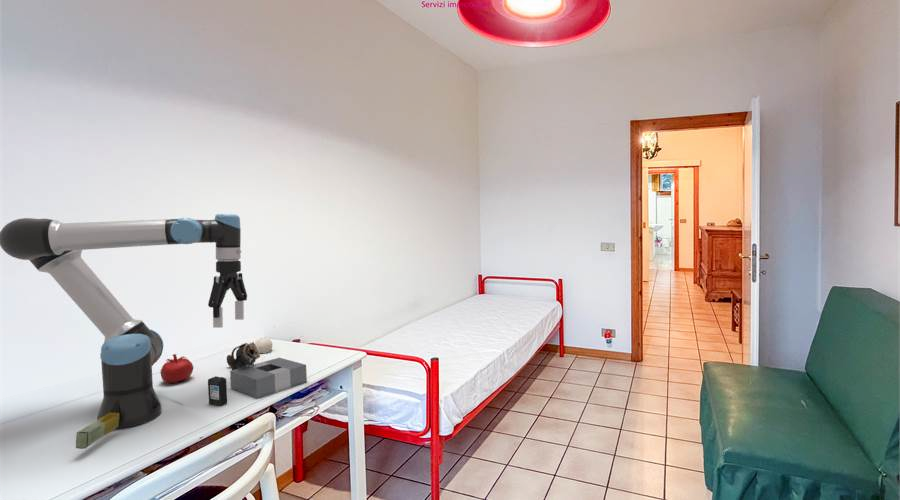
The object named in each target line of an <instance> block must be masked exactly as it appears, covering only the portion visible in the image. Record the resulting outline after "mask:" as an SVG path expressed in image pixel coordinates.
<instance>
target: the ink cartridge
mask: <svg viewBox="0 0 900 500" xmlns="http://www.w3.org/2000/svg"><path fill="white" fill-rule="evenodd" d="M207 385H208V386H207V387H208V389H207V390H208V392H207V393H208V404H209V405H213V406H217V407H221V406H224V405H226V404H227V403H228V393H227V392H228V391H227V378H226V377H224V376H213V377H211V378H208V379H207Z"/></svg>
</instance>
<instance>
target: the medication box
mask: <svg viewBox="0 0 900 500" xmlns="http://www.w3.org/2000/svg"><path fill="white" fill-rule="evenodd" d="M118 426H119V413H108V414H107V415H105V416H103V417H102V418H100V419H98V420H97V419H96V420H95V421H94V422H92V423H91V424H89V425H87V426H85V427H83V428H82V429H80V430H79V431H77V432H76V434H75V435H76V436H75V437H76V438H75V448H76V449H79V450H80V449H81V450H83V449H84V450H85V449H87V448H88V447H89V446H91V445H93V444H94V443H95V442H97V441H100V440H101V439H102V438H103V437H105V436H107V435H108V434H110V433H111V432H113V431H114V430H116V429H115V428H117V427H118Z"/></svg>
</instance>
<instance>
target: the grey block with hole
mask: <svg viewBox="0 0 900 500" xmlns="http://www.w3.org/2000/svg"><path fill="white" fill-rule="evenodd" d="M229 372H230V373H229V374H230V377H229V378H230V390H234V391H236V392H239V393H241V394H243V395H247V396H249V397H252V398H254V399H257V400H258V399H261V398H262V397H266V396H270V395H272V394H276V393H278V392H281V391H284V390H287V389H290V388H293V387H297V386H299V385H302V384H305V383H307V381H308V377H307V376H308V375H307V364H305V363H301V362H298V361H294V360H291V359H287V358H282V357H277V358H273V359H268V360H265V361H262V362H258V363H254V365H250V366H246V367H242V368H239V369H235V370H232V369H231V370H229Z"/></svg>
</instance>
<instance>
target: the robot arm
mask: <svg viewBox="0 0 900 500" xmlns="http://www.w3.org/2000/svg"><path fill="white" fill-rule="evenodd" d="M241 230H242V229H241V218H240V216H239V215H237V214H235V213H234V214H232V213H231V214H229V213H219V214H218V213H217V214H215V217H214V219H194V218H191V217H181V218H170V219H166V218H164V219H142V220H140V219H139V220H120V221H119V220H118V221H117V220H115V221H113V220H112V221H93V222H89V221H88V222H65V223H64V222H63V223H62V222H61V221H59V220H58V219H52V218H31V217H23V218H18V219H14V220H12V221H10V222H8V223H6V224H5V225H4V226H3V227H2V229H1V230H0V248H1V249H2V250H3V251H4V253H5V254H7V255H8V256H10V257H12V258H14V259H18V260H23V261H29V262H30V263H31V264H32V265H33V266H34V268H35V269H37V271H38V272H39V273H40V272H42V273H47V274H49V275H50V276H51V277H52V278H53V279H54V281H56V283H57V284H58V285H59V286H60V287H61V289H62V290H63V291H64V292H65V293H66V294H67V296H68V297H70V299H71V300H72V301H73V302H74V304H75V305H77V307H78V308H79V309H80V310H81V311H82V312H83V314H84V315H85V316H87V318H88V320H90V321H91V323H92V324H93V325H94V326H95V327H96V328H97V329H98V330H99V332H100V333H101V334H102V336H104V342H103V344H102V345H101V347H100V354H99V356H100V357H99V358H100V360H101V375H102V390H103V397H102V401H101V404H100V407H99V411H98V413H97V416H96V421H97V420H98V419H100V418H102V417H103V416H105V415H107V414H108V413H119V426H118V427H117V428H115V429H114V430H117V429H118V430H119V429H124V428H131V427H133V426H137V425H141V424H144V423H146V422H150V421H152V420H154V419H155V418H157V417H158V416H160V415H161V414H162V404H161V401H160V399H159V397H158V396H157V394H156V391H155V389H154V386H153V385H154V382H153V369H152V368H153V366H154V364H156V363H157V362H158V360H160V358H161V356H162V354H163V351H164V341H163V338H162V336H161V335H160V334H159V333H158V332H156V331H155V330H153V329H150V328H149V327H148V326H147V325H146V324H145V322H144V321H143V320H141V319H134V318H133V317H132V316H131V315H130V314H129V312H128V311H127V310H126V309H125V308H124V306H123V305H122V304H121V302H120V301H119V300H118V299H117V298H116V296H114V294H113V293H112V292H111V291H110V289H109V288H108V287H107V286H106V284H104V283H103V281H102V280H101V279H100V278H99V277H98V276H97V274H96V273H95V272H94V271H93V270H92V268H91V267H89V265H88V264H87V263H86V261H85V260H84V259H83V257H82V253H83V251H85V250H99V249H114V248H115V249H116V248H117V249H118V248H119V249H121V248H134V247H136V248H137V247H148V246H149V247H151V246H152V247H153V246H166V245H167V246H169V245H191V244H198V243H199V244H200V243H203V244H204V243H206V244H207V243H211V244H212V243H213V244H214V243H215V260H217V261H216V262H215V272H216V273H218V274H219V276H216V275H215V276H214V277H213V283H212V288H211V291H210V295H209V300H208V303H207V305H208V308H212V321H213V322H212V325H213V327H212V328H213V329H214V328H217V329H218V328H219V329H221V328H223V327H224V321H223V320H224V317H223V310H224V309H223V306H222V304H223V302H224V299H225V297H226V294H227V292H228V291H229V290H230V289H231V292H232V294H233V296H234V299H236V300H235V301H234V319H235V320H236V321H237V320H240V321H242V320H245V313H244V312H245V308H244V304H245V303H244V302H245V301H247V299H248V294H247V290H246V286H245V283H244V279H243V277H244V276H243V273H242V265H241V258H242V257H241V254H242V250H241V234H242V233H241Z"/></svg>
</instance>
